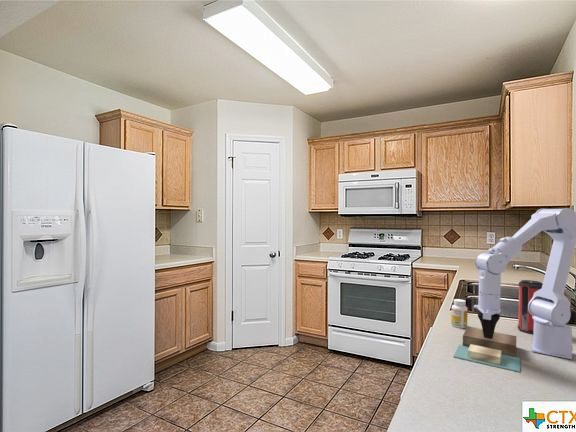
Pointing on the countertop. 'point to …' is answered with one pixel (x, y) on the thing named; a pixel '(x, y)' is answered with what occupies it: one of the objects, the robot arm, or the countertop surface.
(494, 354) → the maple block
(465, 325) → the supplement bottle
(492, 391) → the countertop surface
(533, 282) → the speaker
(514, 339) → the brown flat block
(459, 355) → the mat
